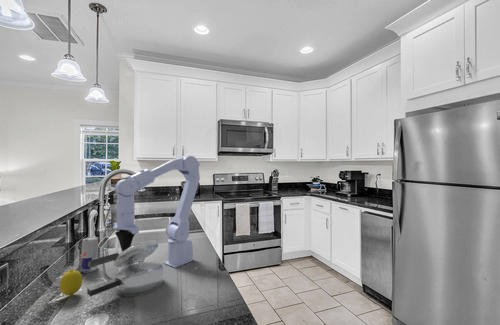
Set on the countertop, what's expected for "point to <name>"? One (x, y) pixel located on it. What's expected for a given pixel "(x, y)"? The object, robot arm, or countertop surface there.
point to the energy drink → (89, 253)
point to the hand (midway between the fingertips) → (125, 250)
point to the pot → (133, 280)
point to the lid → (128, 255)
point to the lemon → (70, 282)
